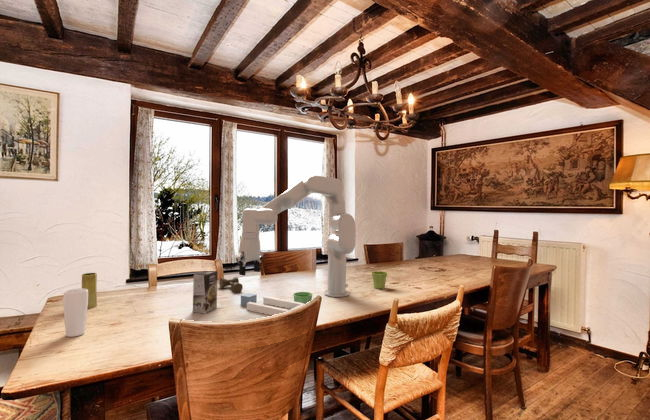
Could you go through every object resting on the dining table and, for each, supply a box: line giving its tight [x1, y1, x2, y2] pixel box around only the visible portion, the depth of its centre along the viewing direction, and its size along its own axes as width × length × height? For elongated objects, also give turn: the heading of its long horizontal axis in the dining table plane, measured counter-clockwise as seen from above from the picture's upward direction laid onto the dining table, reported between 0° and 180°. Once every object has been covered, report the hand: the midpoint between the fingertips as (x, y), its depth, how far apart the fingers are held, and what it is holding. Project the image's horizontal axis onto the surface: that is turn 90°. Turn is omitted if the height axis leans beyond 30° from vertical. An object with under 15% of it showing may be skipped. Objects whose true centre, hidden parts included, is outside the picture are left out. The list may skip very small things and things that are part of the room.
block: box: [240, 292, 258, 307], centre depth 150 cm, size 5×5×4 cm
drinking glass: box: [62, 287, 88, 338], centre depth 112 cm, size 7×7×15 cm
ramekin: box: [292, 291, 313, 304], centre depth 153 cm, size 9×9×4 cm
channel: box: [246, 295, 305, 316], centre depth 142 cm, size 13×22×3 cm, turn 61°
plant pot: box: [370, 270, 389, 290], centre depth 186 cm, size 9×9×9 cm
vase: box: [81, 272, 98, 309], centre depth 142 cm, size 6×6×14 cm
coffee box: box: [192, 270, 218, 314], centre depth 141 cm, size 9×6×16 cm
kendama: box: [218, 276, 243, 293], centre depth 178 cm, size 6×10×20 cm
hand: (249, 273), depth 150 cm, fingers open, 9 cm apart
